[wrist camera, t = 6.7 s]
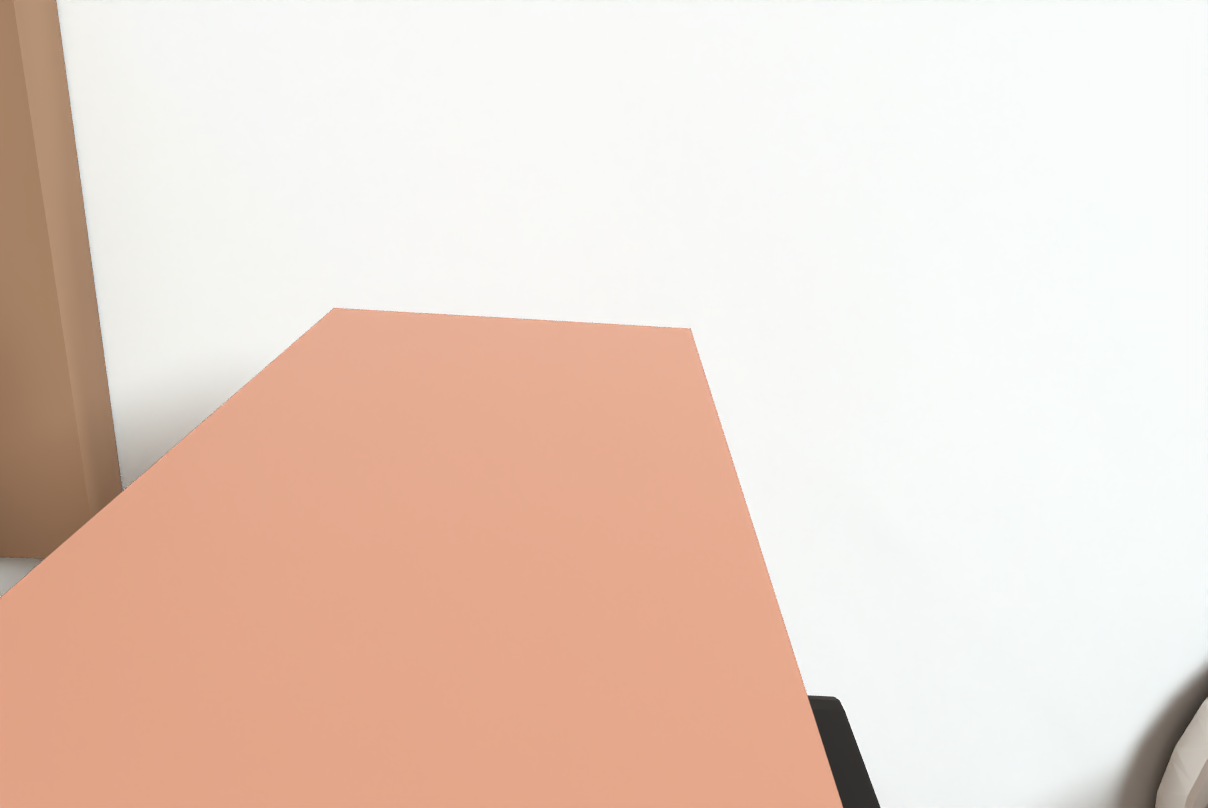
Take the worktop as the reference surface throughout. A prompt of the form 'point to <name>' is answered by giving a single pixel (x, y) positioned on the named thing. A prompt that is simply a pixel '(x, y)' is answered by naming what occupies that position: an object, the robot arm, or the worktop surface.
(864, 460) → the worktop surface
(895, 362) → the worktop surface
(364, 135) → the worktop surface
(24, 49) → the shelf board
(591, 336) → the tea box
